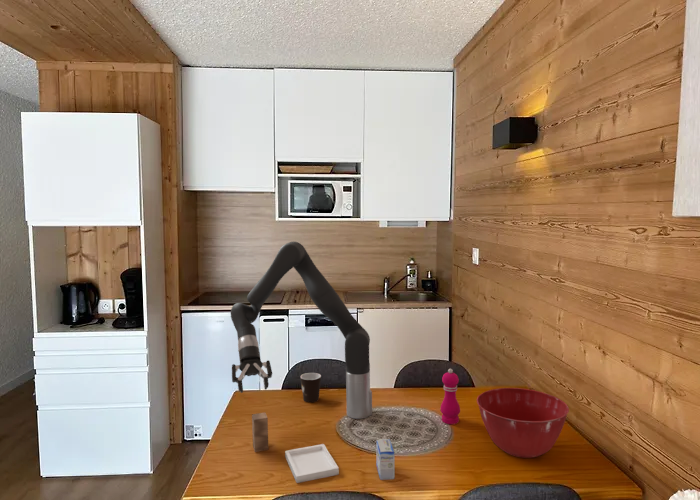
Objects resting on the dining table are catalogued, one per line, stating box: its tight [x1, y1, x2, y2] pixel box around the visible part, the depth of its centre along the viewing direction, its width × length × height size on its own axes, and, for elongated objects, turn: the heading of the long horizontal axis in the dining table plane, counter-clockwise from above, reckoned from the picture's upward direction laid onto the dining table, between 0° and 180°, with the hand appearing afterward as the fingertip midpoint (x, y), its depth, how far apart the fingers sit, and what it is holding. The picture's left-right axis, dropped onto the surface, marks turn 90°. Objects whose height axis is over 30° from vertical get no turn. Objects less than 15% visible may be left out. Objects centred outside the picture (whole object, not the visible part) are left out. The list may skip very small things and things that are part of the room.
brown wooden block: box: [251, 412, 269, 453], centre depth 161 cm, size 4×4×11 cm
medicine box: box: [375, 438, 396, 481], centre depth 145 cm, size 8×4×9 cm, turn 5°
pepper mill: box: [440, 368, 461, 425], centre depth 179 cm, size 7×7×20 cm
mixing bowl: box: [476, 387, 570, 459], centre depth 158 cm, size 28×28×15 cm
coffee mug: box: [300, 372, 322, 403], centre depth 203 cm, size 12×9×10 cm
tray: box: [284, 443, 340, 484], centre depth 150 cm, size 13×16×2 cm
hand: (254, 390), depth 171 cm, fingers open, 8 cm apart
